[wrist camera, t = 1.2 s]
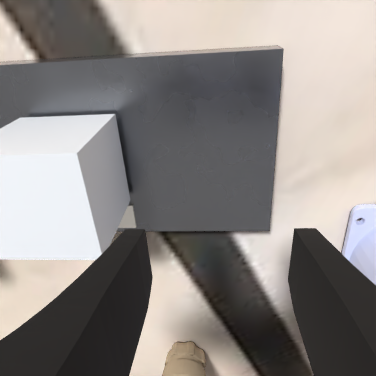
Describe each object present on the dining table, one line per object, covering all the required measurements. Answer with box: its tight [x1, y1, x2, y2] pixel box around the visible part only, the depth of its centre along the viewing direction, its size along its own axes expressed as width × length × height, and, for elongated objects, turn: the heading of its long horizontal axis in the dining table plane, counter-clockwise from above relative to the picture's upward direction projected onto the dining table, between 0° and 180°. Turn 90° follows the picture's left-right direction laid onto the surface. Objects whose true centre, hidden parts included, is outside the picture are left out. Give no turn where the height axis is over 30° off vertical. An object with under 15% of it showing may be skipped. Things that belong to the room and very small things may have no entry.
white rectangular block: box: [0, 114, 130, 260], centre depth 16 cm, size 5×7×5 cm
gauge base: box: [0, 45, 283, 231], centre depth 16 cm, size 24×10×8 cm, turn 93°
